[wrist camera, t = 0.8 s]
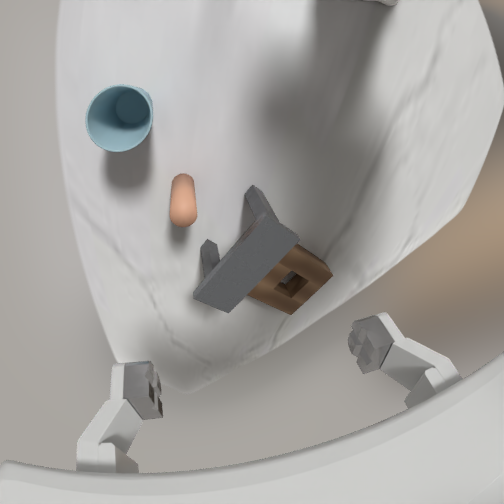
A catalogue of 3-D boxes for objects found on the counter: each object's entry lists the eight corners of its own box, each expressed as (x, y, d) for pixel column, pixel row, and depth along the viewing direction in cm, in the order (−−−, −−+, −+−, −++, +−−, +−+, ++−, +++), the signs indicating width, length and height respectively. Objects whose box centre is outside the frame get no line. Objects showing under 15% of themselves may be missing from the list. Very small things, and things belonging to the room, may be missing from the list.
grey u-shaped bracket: (244, 175, 46) (266, 216, 35) (272, 195, 49) (300, 239, 38) (189, 244, 51) (193, 298, 40) (217, 259, 54) (228, 313, 43)
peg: (180, 169, 43) (179, 197, 35) (198, 181, 45) (202, 211, 37) (167, 187, 44) (164, 218, 36) (185, 198, 46) (187, 231, 38)
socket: (284, 235, 54) (291, 247, 51) (325, 262, 60) (333, 275, 57) (242, 280, 58) (246, 294, 55) (285, 301, 64) (291, 315, 61)
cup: (109, 136, 37) (90, 157, 29) (104, 85, 33) (81, 91, 24) (160, 128, 39) (154, 147, 30) (158, 76, 34) (150, 79, 26)
